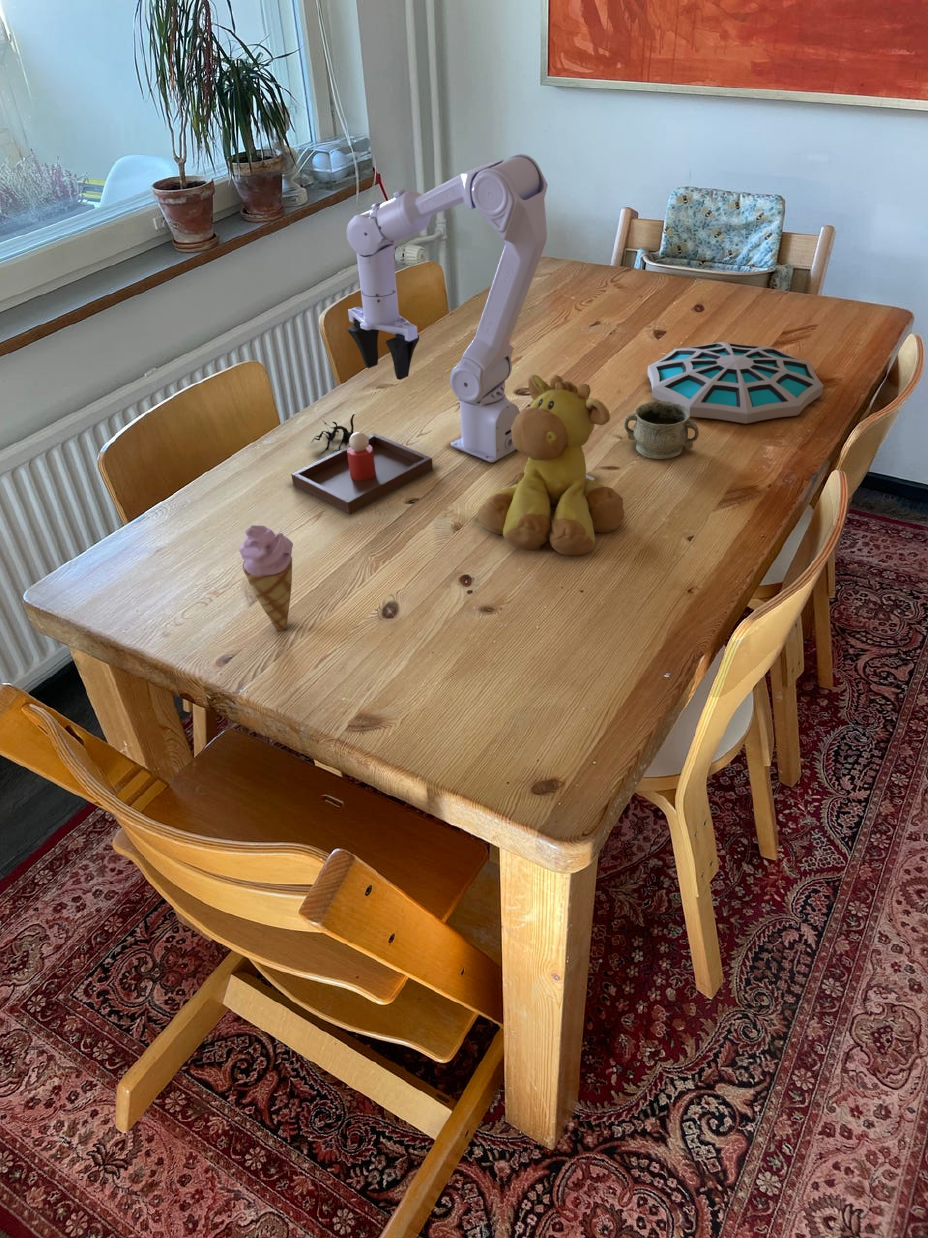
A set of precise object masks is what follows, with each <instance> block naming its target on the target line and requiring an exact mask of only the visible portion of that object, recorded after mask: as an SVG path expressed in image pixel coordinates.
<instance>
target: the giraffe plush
mask: <svg viewBox="0 0 928 1238" xmlns="http://www.w3.org/2000/svg"><path fill="white" fill-rule="evenodd" d="M527 382H528V383H527V385H528V392H529V396H530V397H531V398H532V400H533V402H532V403H531V405H530V406H529V407H528V408H526V409H523V410H522V411H521V412H520V411H519V412H520V413H519V414H518V415H517V417H516V418H515V420H514V423H513V425H512V428H511V436H512V442H513V445H514V447H515V448H516V450H517V451H518V452H520V453H522V455H524V456H526V457H528V458H527V463H526V465H525V467H524V469H523V471H522V472H518V474H517V475H516V477H517V482H518V483H515V484H514V485H512V486H507V487H504V488H501V489H498V490H497V491H496V492H494V493H493V494H492V495H490V496H488V497H487V498H486V499H484V501H482V503H481V504H480V506H479V507H478V508H477V520H478V523H480V525H481V526H482V527H483V528H485V530H487V531H489V532H492V533H494V534H496V535H503V537H504V540H505V541H506V542H507V543H509V544H510V545H512V546H514V547H515V548H517V549H523V550H537V549H540V548H541V547H542V546H543V545H544V544H545V543H546V542H547V541H548V540H549V544H550V546H551V547H552V549H553V550H554V551H556V552H557V553H558V554H561V555H565V556H583V555H585V554H587V553H589V552H590V551H591V550H592V549H593V548H594V546H595V543H596V536H595V533H610V532H614V531H615V530H617V529H618V528H619V527H620V525H621V524H622V522H623V521H624V519H625V518H624V517H625V513H626V512H625V509H624V501H623V499H624V498H623V497H622V495H620V494H619V493H617V491H615V489H614V488H612V487H609V486H605V485H603V484H601V483H599V482H598V481H596V478H595V477H593V476H591V475H589V474H587V464H586V458H585V453H584V450H583V446H584V445H585V444H586V443H587V442H588V441H589V438H590V436H591V435H592V433H593V431H594V429H595V426H597V425H598V426H604V425H606V424H608V423H609V422H610V420H611V414H610V410H609V409H608V408H607V406H606V404H605V403H603V402H602V401H601V400H599V399H597V398H594V397H590V394H591V387H590V385H589V384H587V383H582V384H579V385H578V387H577V385H575V384H574V383H573V382H571V381H566V380H563V378H562V377H561V376H560V375H558V374H556V375H554V376H553V377H551V379H550V382H549V384H548V383H547V382H546V381H545V380H543V379H542V378H541V377H540V376H539V375H537V374H532V375H530V376H529V378H528V381H527ZM551 509H553V510H555V511H554V515H553V518H552V513H551V511H552V510H551Z"/></svg>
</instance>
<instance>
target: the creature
mask: <svg viewBox="0 0 928 1238" xmlns="http://www.w3.org/2000/svg"><path fill="white" fill-rule="evenodd" d="M355 416H356V413H353V414H352V416H351V417H350V420H349V422H350V423H349V424H350V431H349V430H348V428H346V427H344V426H342V425H338V424H337V422H336V421H332V424H334V425H335V426H330V425H329V424H328V423H327V422H325V420H323V419H321V421H322V422H323V423H324V425H325V426H326V428H327V430H321V432H320V434H318V435H316V436H314V437H313V439H312V441H311V443H310V444H312V443H313V442H314V440H316V441H320V440H321V438H322V437H323V435H325V437H326V439H327V444H326V447H325V449H324V450H323V451H321V452H320V453H318V454H317V455H316V456H317V457H319V456H321V455H323V454H324V453H325V452H327V451H330V449H329V448H330V444H331V442H332V443H335V441H334V439H335V438H336V434H337V433H340V431H339V430H342V433H343V434H342V439H340V441H341V442H340V444H339V446H338V449H335V450H332V452H333V451H335V452H337V451H339V450H341V447H342V445H343V444H344V445H345V446H346V447H348V446H347V445H348V444H349V439H350V437H351V435H352V434H354V417H355ZM328 426H329V428H330V429H332V431H331V432H330V430H329V428H328ZM324 432H325V433H324Z"/></svg>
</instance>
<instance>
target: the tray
mask: <svg viewBox="0 0 928 1238" xmlns="http://www.w3.org/2000/svg"><path fill="white" fill-rule="evenodd" d="M367 437H368V440H369V445H371V446H372V448H373V455H374V463H375V472H376V474H375V476H374V477H373V478H371V479H368V480H363V481H359V480H354V479H352V478H351V476H350V469H349V462H348V454H347V449H348V448H349V447H350V445H348V446H346V447H344V448H342V449H340V450H339V449H338V450H339V451H335V452H333V453H332V454H329V455H327V456H325V457H323V458H321V459H319V460H317V461H315V462H313V463H311V464H309V465H306V466H305V467H303V468H301V469H299V470H297V471H295V472H292V473H291V474H290V476H291V480H292V486H293V487H295V488H297V489H299V490H301V491H303V492H304V493H306V494H309V495H311V496H313V497H314V498H316V499H318V500H320V501H323V502H324V503H326V504H328V505H329V506H332V507H333V508H335V509H338V510H340V511H342V512H344V513H345V514H347V515H352V514H354V513H355V512H358V511H359V510H361V509H363V508H365V507H367V506H368V505H370V504H373V503H374V502H376V501H378V500H379V499H381V498H383V497H386V496H387V495H388V494H390V493H392V492H394V491H396V490H398V489H400V488H402V487H404V486H405V485H407V484H409V483H411V482H413V481H415V480H416V479H418V478H420V477H422V476H424V475H425V474H427V473H429V472H431V471H433V470H434V467H433V465H434V464H433V458H432V457H431V456H429V455H426V454H423V453H421V452H420V451H417V450H415V449H412V448H410V447H407V446H405V445H403V444H400V443H398V442H395V441H393V440H391V439H389V438H387V437H384V436H382V435H380V434H378V433H372V434H370V435H368V436H367Z"/></svg>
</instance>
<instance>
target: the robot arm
mask: <svg viewBox="0 0 928 1238" xmlns="http://www.w3.org/2000/svg"><path fill="white" fill-rule="evenodd" d="M548 186H549V185H548V182H547V180H546V178H545V176H544V174H543V172H542V169H541V168H540V166H539V164H538V163H537V161H536V160H535V159H534V158H532V157H531V156H529V155H528V154H524V153H519V154H515V155H512V156H510V157H509V158H508V159H507V160H504V159H500V160H496V161H493V162H490V163H487V164H483V165H481V166H477V167H474V168H472V169H469V170H467V171H465V172H463V173H461V174H459V175H457V176H455V177H453V178H451V179H449V180H447V181H446V182H444V183H442V184H440V185H438V186H437V187H434V188H432V189H430V190H429V191H427V192H425V193H423V194H422V193H420V192H419V191H417V190H412V189H410V190H407V191H406V189H405V188H402V189H400V190H399V189H398V190H397V191H395V192H394V193H392V195H393V198H391V199H388V200H386V201H385V202H383V203H382V202H381V201H378V202H376V203H374V204H372V205H371V209H370V210H367V211H365V212H363V213H360V214H355V215H354V216H353V218H351V219H350V220H349V221H348V223H347V225H346V231H345V232H346V239H347V242H348V245H349V246H350V248H351V249H352V250H353V251H354V252H355V253H356V260H357V269H358V279H359V286H360V295H361V304H362V307H360V306H355V307H353V308H349V309H348V310H347V313H348V320H349V322H350V323H353V324H352V326H349V327H348V328H347V331H348V334H349V335H350V336H351V337H352V339H353V340H354V342H355V344H356V346H357V347H358V350H359V352H360V354H361V357H362V360H363V363H364V365H365V367H366V369H371V368H373V367H375V366H378V365H379V346H378V343H379V333H380V331H383V332H386V333H388V334H392V335H394V337H392V338H390V339H387V340H385V345H386V346H387V348H388V351H389V352H390V355H391V358H392V362H393V367H394V374H395V378H396V379H397V380H398V381H400V380H403V379H406V378H408V377H409V374H410V368H411V363H412V357H413V356H414V352H415V349H416V347H417V345H418V343H419V341H420V335H419V333H418V326H417V325H416V324H412V323H411V322H410V321H408V320H407V319H405V318H404V317H403V316H402V315H400V309H399V299H398V297H399V296H398V288H397V278H396V266H395V265H396V264H395V254H396V244H397V243H399V242H401V241H403V240H406V239H407V238H410V237H412V236H415V235H416V234H418V233H420V232H423V231H425V230H426V229H428V227H429V225H430V223H431V218H432V216H435V215H437V214H439V213H441V212H443V211H447V210H449V209H451V208H454V207H456V206H458V205H461V204H463V203H464V204H465V205H466V206H467V208H468V209H470V210H474V209H477V210H478V212H479V213H480V214H481V216H482V217H483V218H484V219H485V221H486V222H487V223H488V224H489V225H490V227H492V229H493V230H494V231H495V232H496V234H497V235H498V236H499V237H500V238H501V240H503V242H504V247H503V251H502V253H501V256H500V259H499V263H498V266H497V268H496V272H495V276H494V278H493V281H492V283H491V287H490V290H489V293H488V296H487V299H486V302H485V305H484V308H483V311H482V314H481V317H480V320H479V324H478V326H477V329H476V332H475V335H474V338H473V340H472V341H471V342H470V343H469V345H468V347H467V348H466V349H465V351H464V352H463V354H462V356H461V359H460V362H459V363H457V365H456V366H455V367H453V368H452V370H451V372H450V375H449V383H450V384H449V385H450V388H451V390H452V392H453V393H454V395H455V396H456V397H457V399H458V402H459V407H460V408H459V410H460V412H459V413H460V430H461V431H460V432H461V433H460V434H461V437H460V438H457V439H456V440H454V441H452V442H451V443H450V447H452V448H455V449H457V450H459V451H462V452H464V453H467V454H469V455H470V456H471V455H472V456H474V457H477V458H480V459H481V460H484V461H486V462H489V463H495V462H497V461H498V460H500V459H502V458H503V457H506V456H507V455H509V454H511V453H512V452H514V451H516V450H517V449H516V448H515V447H514V445H513V442H512V436H511V428H512V425H513V423H514V420H515V418H516V417H517V415H518V414H519V413H520V409H519V406H517V405H516V404H515V403H513V402H512V401H510V399H508V397H507V396H506V394H505V388H506V381H507V379H509V378H510V376H511V374H512V370H513V366H512V365H513V364H512V355H513V352H514V347H513V345H512V344H511V343H510V342H511V339H512V337H513V334H514V331H515V328H516V325H517V323H518V320H519V317H520V314H521V312H522V310H523V307H524V304H525V301H526V298H527V296H528V292H529V290H530V288H531V285H532V282H533V279H534V276H535V273H536V271H537V268H538V265H539V263H540V260H541V257H542V254H543V251H544V249H545V246H546V243H547V239H548V230H547V217H546V204H545V197H546V193H547V189H548Z"/></svg>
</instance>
